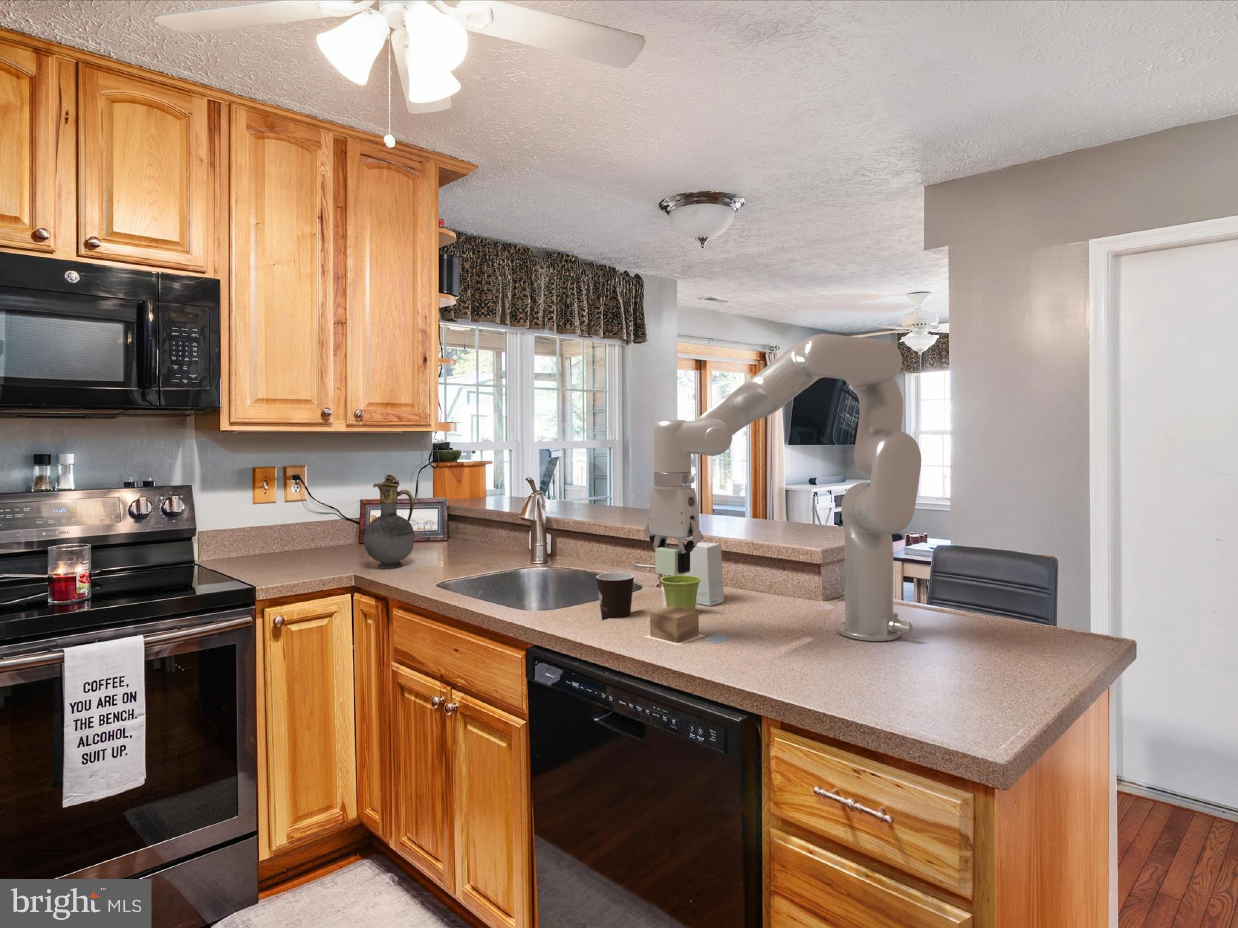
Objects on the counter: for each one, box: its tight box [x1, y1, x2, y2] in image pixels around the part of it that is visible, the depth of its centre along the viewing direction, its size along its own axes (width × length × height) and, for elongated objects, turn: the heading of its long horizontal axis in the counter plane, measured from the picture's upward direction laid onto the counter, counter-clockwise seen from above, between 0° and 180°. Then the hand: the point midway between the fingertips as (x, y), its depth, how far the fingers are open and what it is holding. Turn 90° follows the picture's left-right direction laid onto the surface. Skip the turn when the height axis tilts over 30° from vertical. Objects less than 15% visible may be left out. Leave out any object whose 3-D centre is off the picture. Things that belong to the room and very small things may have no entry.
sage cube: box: [654, 545, 690, 576], centre depth 148 cm, size 5×5×5 cm
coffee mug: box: [595, 572, 635, 621], centre depth 168 cm, size 12×9×10 cm
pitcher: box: [363, 474, 415, 570], centre depth 237 cm, size 11×19×30 cm, turn 153°
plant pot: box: [660, 574, 701, 611], centre depth 169 cm, size 9×9×9 cm
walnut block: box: [649, 606, 700, 643], centre depth 148 cm, size 7×7×5 cm
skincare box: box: [683, 541, 725, 607], centre depth 182 cm, size 8×6×15 cm
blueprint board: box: [643, 632, 735, 646], centre depth 148 cm, size 20×16×1 cm
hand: (672, 569), depth 148 cm, fingers closed on sage cube, 5 cm apart
